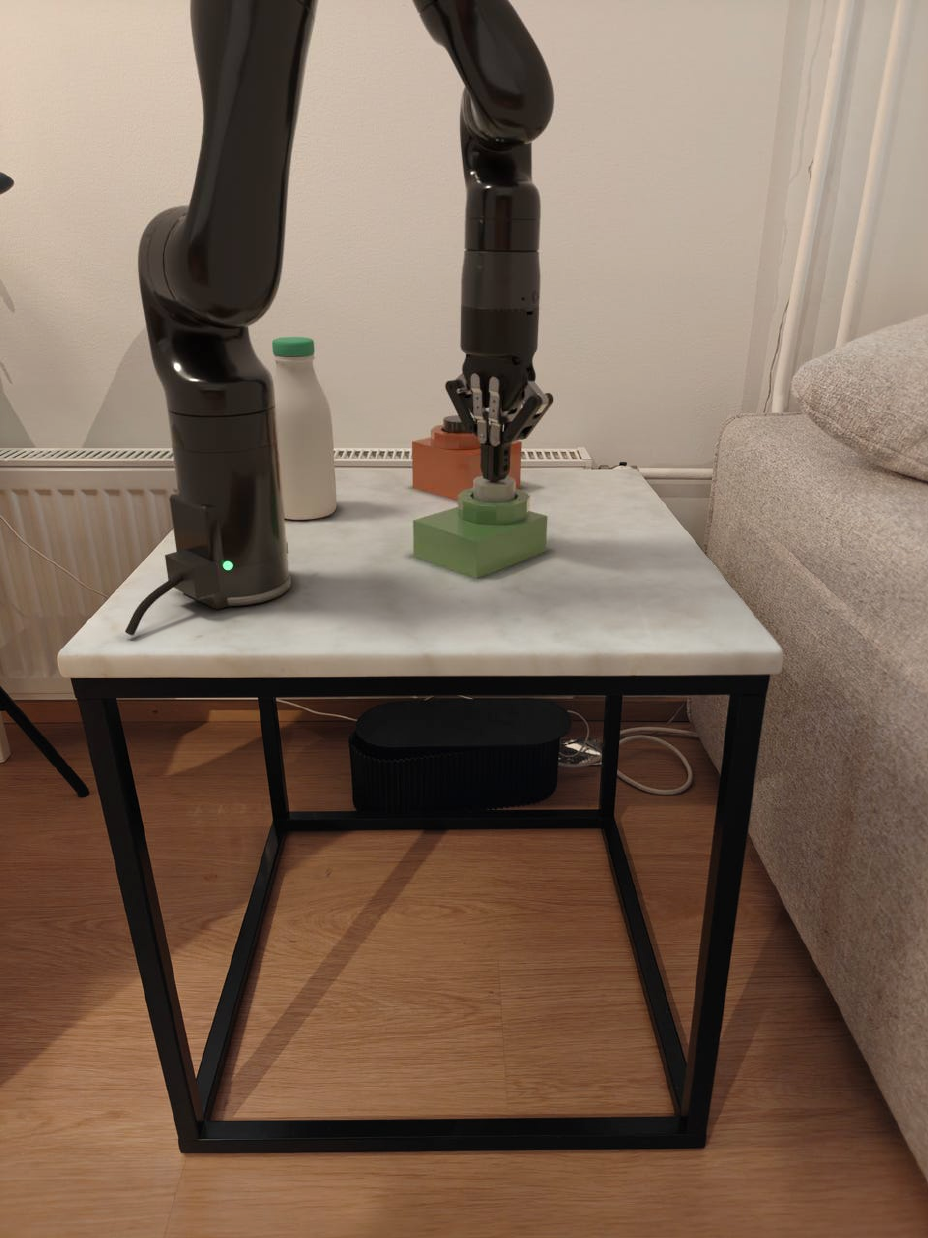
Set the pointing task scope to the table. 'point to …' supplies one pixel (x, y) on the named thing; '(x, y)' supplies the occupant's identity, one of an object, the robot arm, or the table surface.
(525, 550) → the green push button housing
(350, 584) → the table surface
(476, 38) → the robot arm
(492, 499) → the light grey push button
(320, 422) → the milk bottle
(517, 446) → the terracotta push button housing
